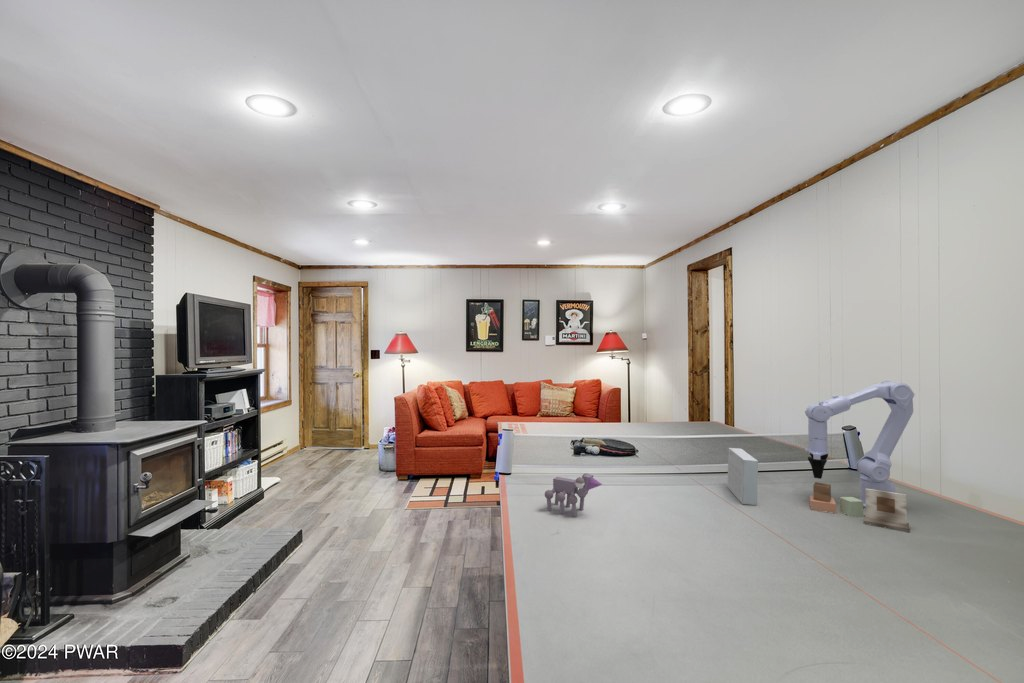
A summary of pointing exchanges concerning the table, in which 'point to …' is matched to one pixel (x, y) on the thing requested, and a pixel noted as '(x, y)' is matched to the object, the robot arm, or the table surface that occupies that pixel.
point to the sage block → (851, 506)
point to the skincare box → (742, 476)
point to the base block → (823, 505)
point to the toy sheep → (571, 491)
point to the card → (886, 510)
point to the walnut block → (822, 492)
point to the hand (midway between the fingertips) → (818, 475)
